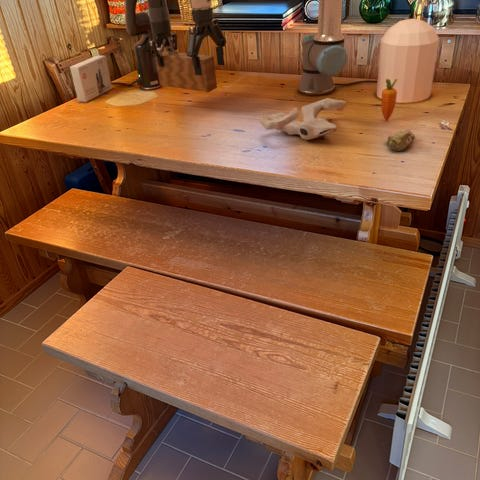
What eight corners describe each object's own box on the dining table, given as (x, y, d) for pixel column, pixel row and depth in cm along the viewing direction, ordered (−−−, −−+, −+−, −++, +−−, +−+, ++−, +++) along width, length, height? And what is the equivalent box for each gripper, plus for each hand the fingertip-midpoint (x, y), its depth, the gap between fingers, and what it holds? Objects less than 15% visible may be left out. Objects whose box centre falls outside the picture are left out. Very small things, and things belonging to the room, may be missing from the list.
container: (400, 106, 176) (410, 27, 160) (365, 93, 192) (370, 19, 176) (442, 95, 182) (455, 17, 167) (404, 83, 199) (413, 11, 183)
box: (159, 85, 190) (154, 54, 183) (169, 81, 194) (164, 50, 187) (207, 92, 177) (203, 59, 170) (217, 87, 181) (213, 55, 174)
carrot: (394, 118, 167) (398, 76, 158) (393, 123, 163) (397, 80, 154) (379, 117, 168) (383, 75, 160) (378, 122, 165) (382, 80, 156)
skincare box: (87, 102, 214) (77, 67, 204) (78, 102, 215) (68, 66, 206) (113, 88, 229) (105, 54, 220) (104, 88, 231) (96, 54, 222)
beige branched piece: (257, 147, 155) (255, 112, 149) (269, 121, 176) (267, 89, 170) (343, 147, 149) (345, 111, 143) (345, 120, 170) (346, 87, 164)
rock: (408, 140, 153) (379, 139, 152) (414, 122, 149) (384, 120, 148) (421, 154, 144) (391, 153, 143) (428, 135, 140) (396, 133, 139)
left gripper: (165, 15, 183) (172, 59, 192) (139, 22, 173) (147, 68, 183) (179, 15, 179) (185, 60, 188) (153, 23, 170) (161, 70, 179)
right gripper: (186, 15, 153) (196, 80, 165) (231, 1, 168) (237, 61, 181) (169, 15, 157) (180, 78, 169) (215, 1, 172) (222, 60, 185)
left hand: (167, 64), depth 186 cm, fingers closed on box, 6 cm apart
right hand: (210, 69), depth 175 cm, fingers open, 13 cm apart
